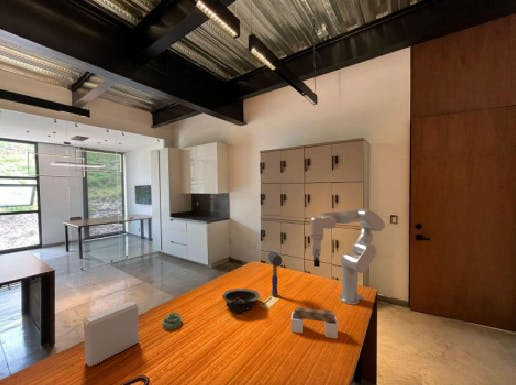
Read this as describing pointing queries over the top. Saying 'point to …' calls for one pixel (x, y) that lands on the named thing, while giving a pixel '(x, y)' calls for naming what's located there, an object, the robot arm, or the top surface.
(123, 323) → the bevelled white case
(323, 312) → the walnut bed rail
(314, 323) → the top surface
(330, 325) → the twin hollow square sockets
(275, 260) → the rubber mallet
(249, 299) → the stone bowl
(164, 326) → the decorative artifact
